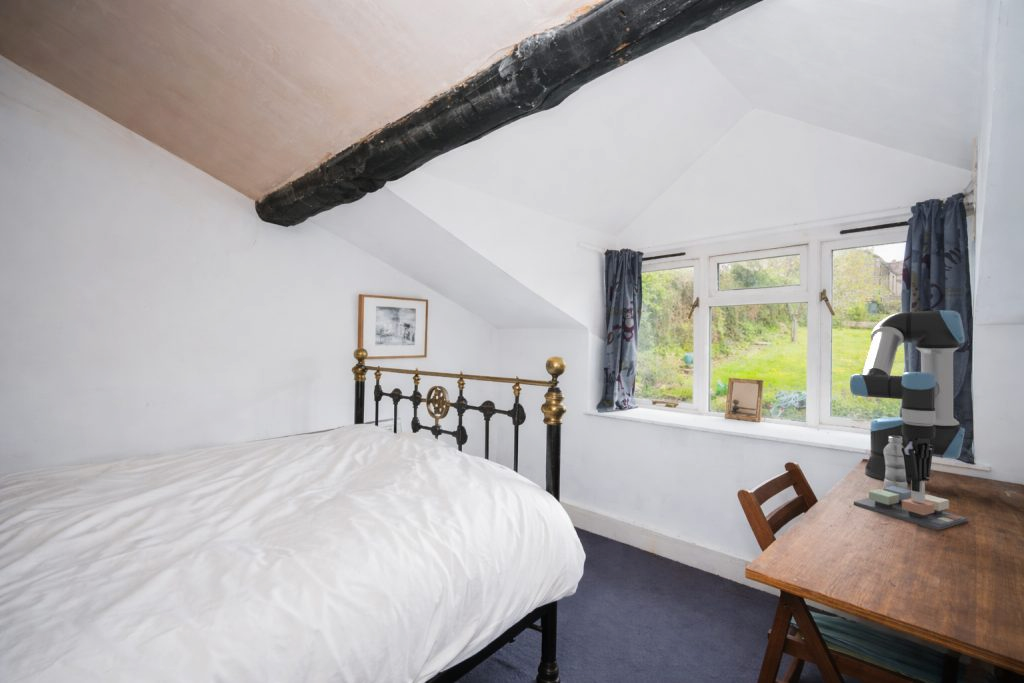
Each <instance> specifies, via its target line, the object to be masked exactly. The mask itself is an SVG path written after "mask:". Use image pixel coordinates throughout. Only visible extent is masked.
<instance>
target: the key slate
mask: <svg viewBox="0 0 1024 683" xmlns="http://www.w3.org/2000/svg"><path fill="white" fill-rule="evenodd" d="M883 490H884V491H888V492H892V493H895V494H899V500H901V501H902V500H906V499H910V498H911V490H910V489H909V488H908V489H904V488H900V487H896V486H890V487H886V488H884V487H883Z"/></svg>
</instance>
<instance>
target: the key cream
mask: <svg viewBox="0 0 1024 683" xmlns="http://www.w3.org/2000/svg"><path fill="white" fill-rule="evenodd" d="M925 502H929V503H933V504H934V510H937V511H941V510H942V511H943V510H948V509H949V508H950V500H949V499H946V498H943V497H938V496H935V495H930V494H926V493H925Z"/></svg>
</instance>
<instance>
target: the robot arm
mask: <svg viewBox="0 0 1024 683" xmlns="http://www.w3.org/2000/svg"><path fill="white" fill-rule="evenodd" d="M870 340H871V341H872V342H871V345H870V348H869V350H868V353H867V357H866V360H865V362H864V365H863V368H862V371H861V373H854V374H852V375H851V376H850V381H849V389H850V392H851V394H852V395H853V396H859V397H864V398H881V399H892V400H893V399H894V400H895V399H896V400H901V403H902V404H901V411H900V413H901V417H900V416H899V417H897V416H895V417H894V416H891V417H877V418H874V419H872V420H871V422H870V430H869V432H870V455H869V458H868V460H867V462H866V464H865V466H864V467H865V468H864V474H866V476H869V477H870V478H874V479H877V480H881V481H884V479H885V471H886V465H885V458H884V452H883V450H884V448H885V447H886V445H888V444H889V441H888V440H889V436H899V437H902V441H903V443H901V444H902V445H903V447H902V449H901V450H902V453H903V456H904V463H905V474H906V482H907V483H910V488H911V501H915V502H918V503H925V495H926V482H930V476H931V468H932V460H933V457H934V458H936V457H937V458H941V459H952V460H953V459H954V460H956V459H958V458H960V457H961V452H962V447H963V443H964V437H965V431H966V429H965V428H964V427H961V426H960V422H959V421H958V420H957V419H956V418H954V352H955V351H956V350H958V349H960V344H963V343H965V340H966V337H965V331H964V326H963V321H962V316H961V314H960V313H959V312H958V311H956V310H942V309H941V310H940V309H939V310H927V311H926V310H925V311H923V310H922V311H901V312H897V313H894V314H891V315H889V316H887V317H886V318H884V319H883V320H881V321H880V322H878V324H876V326H875V327H874V328H873V329H872V331H871V335H870ZM903 343H904V344H905V343H909V344H910V343H911V344H912V343H914V344H915V349H916V350H918V351H919V352H920V371H905V372H903V373H902V375H891V373H892V368H893V366H894V362H895V358H896V356H897V352H898V347H900V346H901V345H902V344H903Z"/></svg>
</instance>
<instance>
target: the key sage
mask: <svg viewBox="0 0 1024 683" xmlns="http://www.w3.org/2000/svg"><path fill="white" fill-rule="evenodd" d="M868 498H869V499H870V500H874V501H877V502H880V503H884V504H887V505H890V504H894V503H898V502H899V494H895V493H892V492H888V491H884V489H880V488H878V489H874V490H869V491H868Z"/></svg>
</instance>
